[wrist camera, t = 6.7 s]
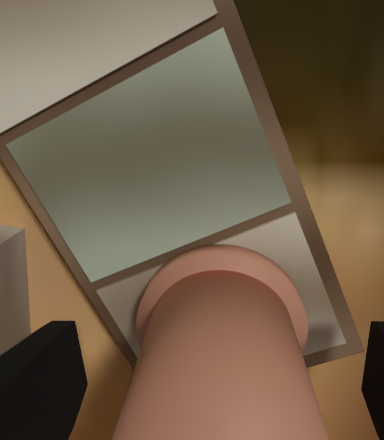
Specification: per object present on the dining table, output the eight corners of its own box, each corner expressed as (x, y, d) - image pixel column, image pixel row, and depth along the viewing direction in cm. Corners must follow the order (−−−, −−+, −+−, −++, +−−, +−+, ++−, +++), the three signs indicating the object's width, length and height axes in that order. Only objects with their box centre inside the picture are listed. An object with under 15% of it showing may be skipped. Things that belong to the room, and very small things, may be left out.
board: (355, 335, 10) (365, 353, 10) (162, 392, 12) (158, 412, 11) (-1, -611, 5) (-40, -730, 4) (-266, -303, 7) (-328, -354, 6)
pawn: (336, 298, 9) (646, 831, 2) (242, 401, 11) (275, 903, 4) (193, 212, 9) (98, 586, 2) (115, 333, 10) (-88, 776, 3)
